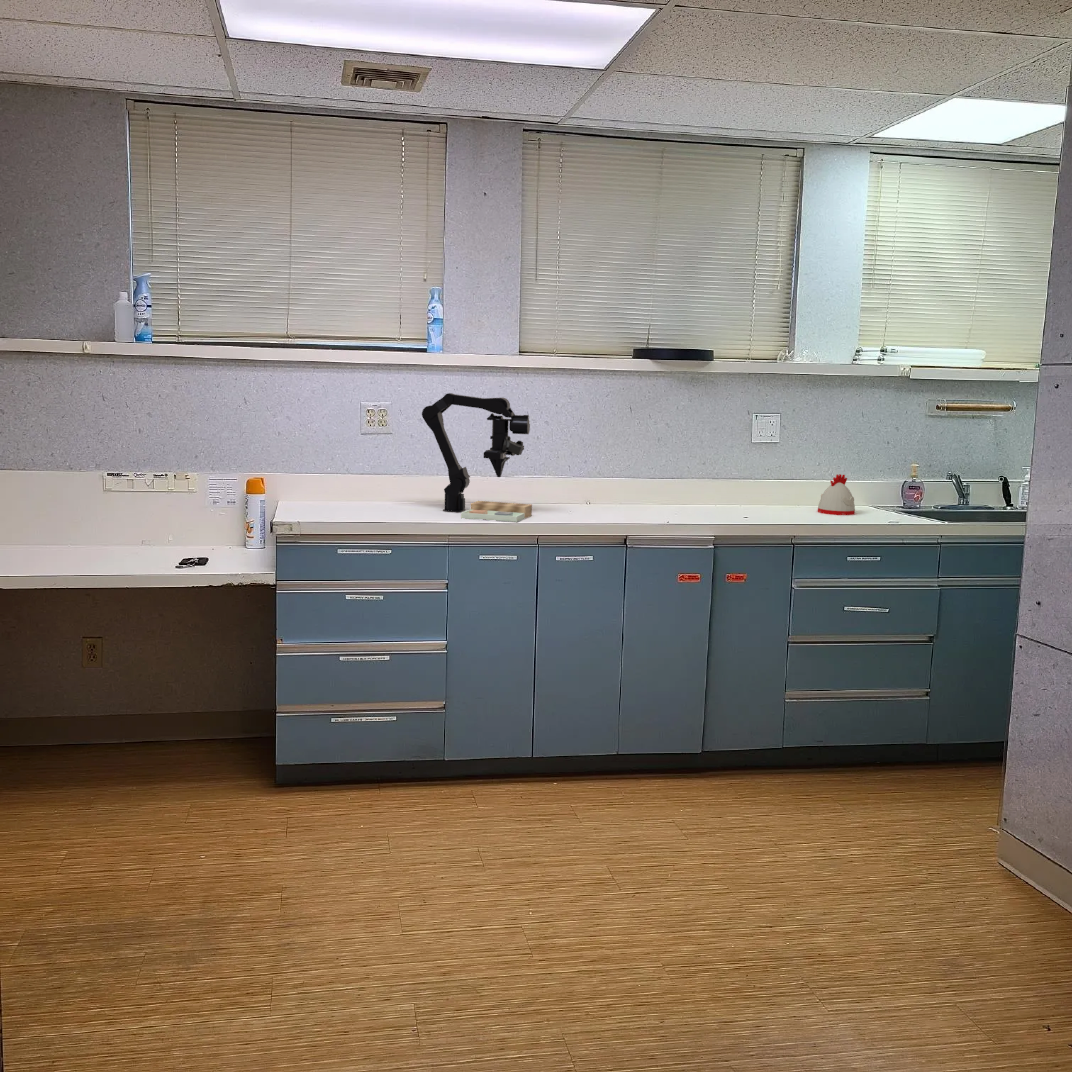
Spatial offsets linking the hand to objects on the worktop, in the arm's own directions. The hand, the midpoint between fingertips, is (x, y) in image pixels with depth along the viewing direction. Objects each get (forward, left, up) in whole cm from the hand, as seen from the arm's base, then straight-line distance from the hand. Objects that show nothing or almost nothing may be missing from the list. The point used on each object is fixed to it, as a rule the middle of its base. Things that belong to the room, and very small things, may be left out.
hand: (499, 477), depth 383 cm
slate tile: (+7, -14, -11) cm, 19 cm away
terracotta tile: (-3, -14, -11) cm, 18 cm away
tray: (+3, -14, -13) cm, 19 cm away
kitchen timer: (+117, +65, -13) cm, 134 cm away
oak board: (+3, -4, -13) cm, 14 cm away
